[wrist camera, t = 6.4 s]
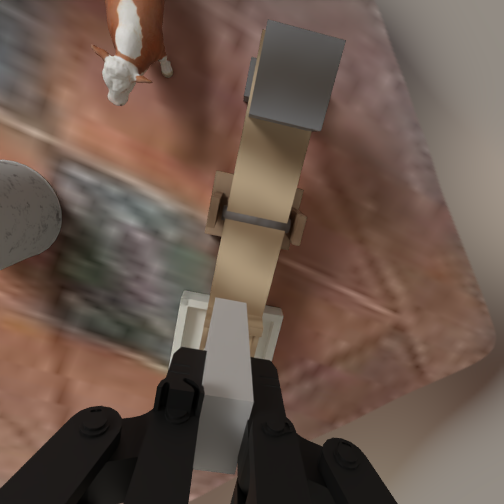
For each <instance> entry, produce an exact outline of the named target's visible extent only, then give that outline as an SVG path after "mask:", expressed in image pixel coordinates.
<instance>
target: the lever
mask: <svg viewBox="0 0 504 504" xmlns="http://www.w3.org/2000/svg"><path fill="white" fill-rule="evenodd" d="M345 42H346V40H343V39H339V38H335V37H331V36H328V35H324V34H320V33H317V32H313V31H309V30H306V29H302V28H298V27H295V26H291V25H287V24H283V23H280V22H276V21H272V20H269V19H268V21H267V26H266V30H264V29H263V31H262V36H261V41H260V46H259V51H258V56H257V61H256V66H255V71H254V76H253V81H252V86H251V91H250V96H249V101H248V106H247V111H246V116H245V121H244V126H243V131H242V136H241V141H240V147H239V152H238V157H237V162H236V167H235V172H234V177H233V182H232V187H231V192H230V197H229V202H228V206H225V205H224V208H223V213H222V218H221V220H225V222H224V227H223V232H222V237H221V242H220V247H219V252H218V257H217V262H216V267H215V272H214V278H213V283H212V288H211V293H210V298H209V303H208V308H207V312H206V317H205V322H204V327H203V332H202V337H201V342H200V348H199V350H204V348H205V346H206V341H207V336H208V332H209V327H210V322H211V317H212V312H213V307H214V302H215V298H222V299H227V300H233V301H238V302H244V303H246V304H247V318H248V332H249V345H250V357H254V356H255V352H256V348H257V344H258V341H259V337H262V333H263V319H262V316H263V312H264V309H265V305H266V301H267V297H268V294H269V290H270V286H271V282H272V279H273V275H274V271H275V267H276V264H277V260H278V256H279V252H280V249H281V245H282V241H283V237H284V234H285V233H287V234H288V232H289V230H290V226H291V219H289V215H290V211H291V207H292V204H293V200H294V196H295V192H296V189H297V185H298V181H299V177H300V174H301V170H302V166H303V162H304V159H305V155H306V151H307V147H308V144H309V140H310V136H311V132H312V131H321V129H322V125H323V121H324V118H325V114H326V111H327V107H328V103H329V100H330V96H331V92H332V89H333V85H334V82H335V78H336V74H337V71H338V67H339V63H340V60H341V56H342V53H343V49H344V45H345Z"/></svg>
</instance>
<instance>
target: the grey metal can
mask: <svg viewBox="0 0 504 504" xmlns="http://www.w3.org/2000/svg"><path fill="white" fill-rule="evenodd" d="M61 224H62V211H61V207H60V203H59V199H58V197H57V195H56V193H55V191H54V189H53V188H52V187H51V186H50V184H49V183H48V182H47V180H46V179H44V178H43V177H42V176H41V175H40V174H39V173H38V172H36V171H35V170H33V169H31V168H30V167H28V166H26V165H23V164H21V163H18V162H15V161H8V160H0V270H2V269H4V268H6V267H8V266H11V265H13V264H15V263H17V262H20V261H22V260H24V259H27V258H29V257H32V256H35V255H38V254H40V253H42V252H43V251H45V250H46V249H48V248H49V247H50V246H51V245H52V244H53V243H54V241H55V240H56V238H57V236H58V234H59V232H60V228H61Z"/></svg>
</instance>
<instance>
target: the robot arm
mask: <svg viewBox="0 0 504 504" xmlns="http://www.w3.org/2000/svg"><path fill="white" fill-rule="evenodd" d="M278 379H279V378H278V373H277V369H276V367H275V366H274V365H273V363H272V362H271V361H270V360H266V359H260V358H254V357H250V345H249V332H248V318H247V304H246V303H244V302H238V301H233V300H227V299H222V298H215V302H214V307H213V312H212V317H211V322H210V327H209V332H208V336H207V341H206V346H205V350H199V349H193V348H187V347H180V348H179V349H178V350H177V351H176V352H175V353H174V354H173V357H172V360H171V364H170V367H169V370H168V373H167V376H166V378H165V379H163V380H162V381H161V382H160V383H159V385H158V386H157V391H156V397H155V403H154V408H153V409H152V410H151V411H149V412H148V413H146V414H143V415H141V416H137V417H132V418H124V419H122V418H121V416H120V415H119V413H118V412H117V411H115V410H114V409H112V408H110V407H104V406H96V407H89V408H87V409H84V410H81V411H79V412H78V413H77V414H75V415H74V416H73V417H71V418H70V419H69V420H68V421H67V422H66V423H65V424H64V425H63V426H62V427H61V428H60V429H59V430H58V431H57V432H56V433H55V434H54V435H53V436H52V437H51V438H50V439H49V440H48V441H47V442H46V443H45V444H44V445H43V446H42V447H41V448H40V449H39V450H38V451H37V452H36V453H35V454H34V455H33V456H32V457H31V458H30V459H29V460H28V461H27V462H26V463H25V464H24V465H23V466H22V467H21V468H20V469H19V470H18V471H17V472H16V473H15V474H14V475H13V476H12V477H11V478H10V479H9V480H8V481H7V482H6V483H5V484H4V485H3V486H2V487H1V488H0V504H119V503H124V504H188V501H189V494H190V486H191V479H192V471H193V469H195V470H203V471H211V472H219V473H227V474H235V470H236V467H237V463H238V478H237V481H236V485H235V489H234V492H233V497H232V500H231V504H397V502H396V501H395V499H394V498H393V496H392V495H391V493H390V492H389V490H388V489H387V487H386V486H385V484H384V483H383V482H382V480H381V478H380V477H379V475H378V474H377V472H376V471H375V469H374V468H373V466H372V465H371V463H370V462H369V460H368V459H367V457H366V456H365V455H364V453H363V452H362V451H361V450H360V449H359V448H358V447H357V446H355V445H354V444H352V443H351V442H349V441H347V440H344V439H341V438H331V439H328V440H327V441H326V442H325V443H324V444H323V447H322V446H320V445H318V444H315V443H313V442H310V441H308V440H306V439H304V438H302V437H301V436H299V435H298V434H297V433H296V430H295V428H294V425H293V424H292V422H291V421H290V420H289V419H288V418H287V417H286V414H285V409H284V404H283V399H282V394H281V389H280V383H279V380H278Z"/></svg>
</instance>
